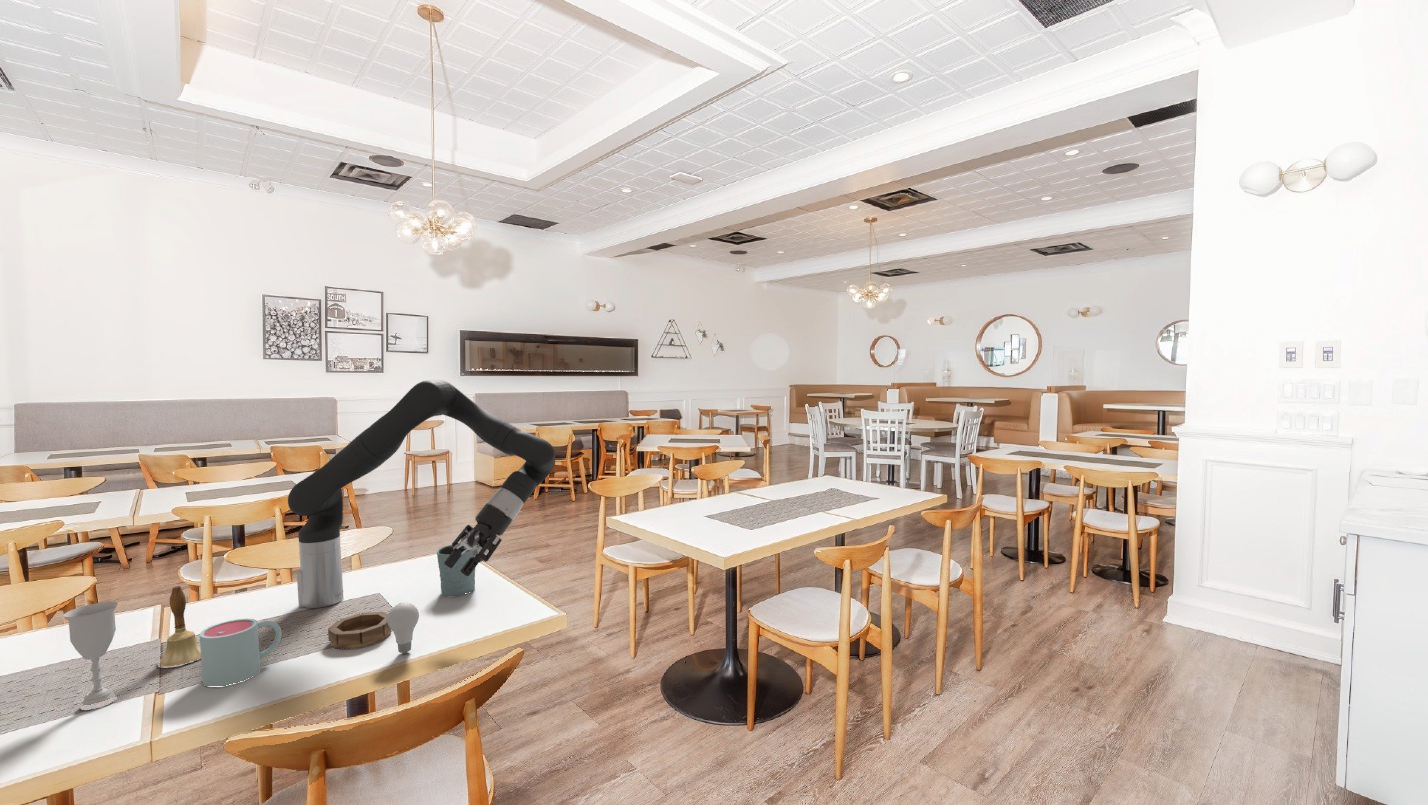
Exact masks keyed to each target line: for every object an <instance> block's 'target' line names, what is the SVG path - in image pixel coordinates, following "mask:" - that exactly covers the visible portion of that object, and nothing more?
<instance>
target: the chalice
mask: <svg viewBox="0 0 1428 805" xmlns="http://www.w3.org/2000/svg"><path fill="white" fill-rule="evenodd" d="M117 606H118V602H117V601H104V602H103V601H101V602H97V603H92V604H87V605H83V606H79V607H76V608H74V609H71V610H69V611H66V612H65V613H64V614H63V617H64V618H65V619H66V620H67V621H68V629H69V639H70V640H69V641H70V643H71V645H72V646H73V648H74V649H75V650H76V652H77V653H78V654H79V655H80V656H81V657H82V658H83V659H84V660H88V661H89V660H90V661H91V667H90V669H89V671H90V672H91V673H92V677H91V678H90V679H89V681H90V682H92V683H93V688H92V690H91V691H89V692H87V693H86V695H85V696H84V697H83V701H82V702H81V705H82V704H83V705H91V704H94V703H99V702H102V701H105V700H108V699H110V698H111V697H113V696H114V695H115V692H113V690H112V689H111V688H110V687H104V686H103V685H102V683H101V682H102V679H103V678H104V677H105V676H104V675H102V674H101V671H102V670H101V669H102V668H103V666H102V665H101V663H100V658H101V657H102V656H104V655H106V653H107V652H108V650H109V647H110V646H111V644H112V642H113V639H114V637H115V633H116V630H117V628H116V616H115V615H116V614H115V611H116V608H117Z"/></svg>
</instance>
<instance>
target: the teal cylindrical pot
mask: <svg viewBox="0 0 1428 805" xmlns="http://www.w3.org/2000/svg"><path fill="white" fill-rule="evenodd" d="M453 548H454V547H453V546H452V544H448V545H446V546H445V545H444V546H442V547H441V548H438V549H437V551H436V556H437V563H438V568H439V570H438V571H439V578H440V592H441V595H442V596H444V597H447V596H456V597H461V596H460V595H462V596H464V595H463V594H465V593H469V592H471V591H472V590H474V591H475V589H476V587H475V586H476V579H475V578H476V567H475V568H474V570H473V571H472V572H471V574H470V575H469V576H466V575H464V574H463V573H461V569H462V568H463V566H464V565H465V564H466V562H467V561H468V560H469V558H470V557H472V554H473V549H472V550H467V551H466V552H465V553H463V554H462V556H461V557H460V558H459V560H458V561H457V562H456V564H455V565H454V566H453V567H452V568H449V567H447V566H446V565H445V564H444V562H445V561H446V559H447V558H448V557H449V555H450V554H451V553H452V551H453V550H454V549H453ZM463 548H464V547H463ZM472 558H473V557H472ZM471 593H472V592H471ZM469 594H470V593H469Z"/></svg>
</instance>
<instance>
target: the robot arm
mask: <svg viewBox="0 0 1428 805" xmlns="http://www.w3.org/2000/svg"><path fill="white" fill-rule="evenodd" d="M439 416H444V417H449V418H451V419H454V420H457V421H459V422H461V423H462V424H464V425H465V426H466V427H468V428H469V429H470V430H471V431H472V432H473V433H475V435H476V436H477V437H478V438H479V439H481V440H482V441H483V442H485V443H487V444H488V445H489V446H491V447H493V448H495V449H497V450H498V451H500V452H502V453H504V454H505V455H508V456H510V457H511V456H517V457H518V458H521V459H522V460H524V461H525V462H524V463H523V465H521V466H520V468H519V469H518V470H514V471H513V472H512V473H511V474H509V476H507V478H506V479H505V480H504V482H503V483H502V484H501V486H499V488H498V489H497V491H495V492H494V493H493V494H492V495H491V496H490V498H489V499H488V501H487V502H486V503H485V504H484V506H483V507H482V508H481V510H480V511H479V512H478V513H477V515H476V516H475V518H474V519H475V522H476V525H475V526H474V527H473V526H472V525H470V524H467V525H466V526H465V527H464V528H463V529H462V531H461V532H460V533H459V535H458V536H457V537H456V538H455V539H454V541H453V542H452V543H451V545H452V546H453V547H454V548H453V549H454V550H453V551H452V553H451V554H450V555H449V557H448V558H447V559H446V561H445V562H444V564H445V565H446V566H447V567H449V568H452V567H453V566H454V565H455V564H456V562H457V561H458V560H459V558H460V557H461V556H462V554H463V553H465V552H466V551H467V550H472V549H473V554H472V557H473V558H472V557H470V558H469V560H468V561H467V562H466V564H465V565H464V566H463V568H462V569H461V573H463V574H464V575H466V576H469V575H470V574H471V572H472V571H473V570H474V568H475V569H476V567H477V566H478V565H479V563H482V562H488V561H489V559H490V558H491V557H492V555H493V554H494V552H495V551H496V550H497V548H498V547H499V546H500V544H501V542H502V541H503V540H502V538H501V536H503V534H504V533H505V532H506V531H507V529H508V528H509V527H510V525H511V524H512V522H513V521H514V520H515V518H516V517H517V515H518V514H519V513H520V511H521V510H522V507H523V506H524V504H526V502H527V500H528V499H529V498H530V496H531V495H532V494H533V492H534V490H535V489H536V488H537V487H538V486H540V484H542V482H544V481H545V479H546V478H547V477H549V475H550V474H551V472H552V471H553V469H554V467H555V465H556V452H555V449H554V447H553V445H552V444H551V443H550V442H549V441H547V440H546V439H544V438H542V437H539V436H538V435H534V434H532V433H529V432H525V431H524V430H523V431H522V430H521V429H519V428H517V427H516V426H514V425H512V424H510V423H509V422H506V421H505V420H503V419H502V418H499V417H498V416H496V415H494V414H492V413H491V412H490V411H488V410H486V409H485V408H483V407H481V406H480V405H478V403H476V402H474V401H473V400H472V399H470V398H469V397H468V396H467V395H465V394H464V393H463V391H461V390H459V388H457V387H456V386H454V385H452V384H451V383H450V382H448V381H446V380H443V379H442V380H441V379H432V380H431V379H429V380H422V381H420V382H418V383H416V384H415V385H413V387H411V388H410V389H409V390H408V391H407V392H406V394H405V395H404V396H403V397H402V398H401V399H400V400H399V401H398V402H397V403H396V404H395V405H394V406H393V407H392V408H391V409H390V410H389V411H388V412H387V413H385V414H384V415H382V416H381V417H379V418H378V419H377V420H376V421H375V422H373V423H372V424H370V426H368V427H367V428H366V429H364V430H363V431H362V432H361V433H359V434H357V436H356V437H354V438H353V439H352V440H351V441H349V443H348V444H347V445H346V446H345V447H343V448H341V450H340V451H339V452H337V453H336V454H335V455H334V456H333V457H332V458H331V459H330V460H329V461H328V462H326V464H324V465H323V466H322V467H320V468H319V469H317V470H316V471H315V472H312V474H310V475H309V476H307V477H305V478H304V479H301V481H299V482H298V483H296V484H295V485H294V486H293V487H292V489H290V492H289V494H288V495H287V504H288V508H289V510H290V511H291V512H292V513H294V515H295V514H296V515H297V516H303V517H308V520H306V522H305V524H304V525H303V526H302V527H301V528H300V529H299V530H298V535H297V536H298V538H297V539H298V550H299V552H298V554H299V565H300V566H299V567H300V568H299V569H298V570H297V571H296V581H297V596H298V597H297V599H298V608H307V609H317V608H323V607H330V606H333V605H335V604H338V603H339V602H341V601H343V599H344V584H343V582H344V581H343V568H342V567H343V566H342V565H343V564H342V548H341V547H342V546H341V528H342V525H343V522H344V521H343V520H344V515H343V514H344V499H343V498H344V497H343V488H344V487H346V486H348V485H349V484H352V483H353V482H355V481H357V480H359V479H360V478H362V477H364V476H366V475H367V474H369V473H372V472H373V471H374V470H376V469H378V468H379V467H380V466H382V465H383V464H384V463H385V462H386V461H388V460H389V459H390V458H391V457H392V456H393V455H394V454H395V453H396V452H398V450H399V449H400V447H401V446H402V443H404V440H405V439H406V437H407V435H409V433H411V431H413V430H414V429H415V428H417V427H419V426H420V425H421V424H422V423H424V422H425V421H426V420H428V419H431V418H433V417H439ZM463 547H464V548H463Z"/></svg>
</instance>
